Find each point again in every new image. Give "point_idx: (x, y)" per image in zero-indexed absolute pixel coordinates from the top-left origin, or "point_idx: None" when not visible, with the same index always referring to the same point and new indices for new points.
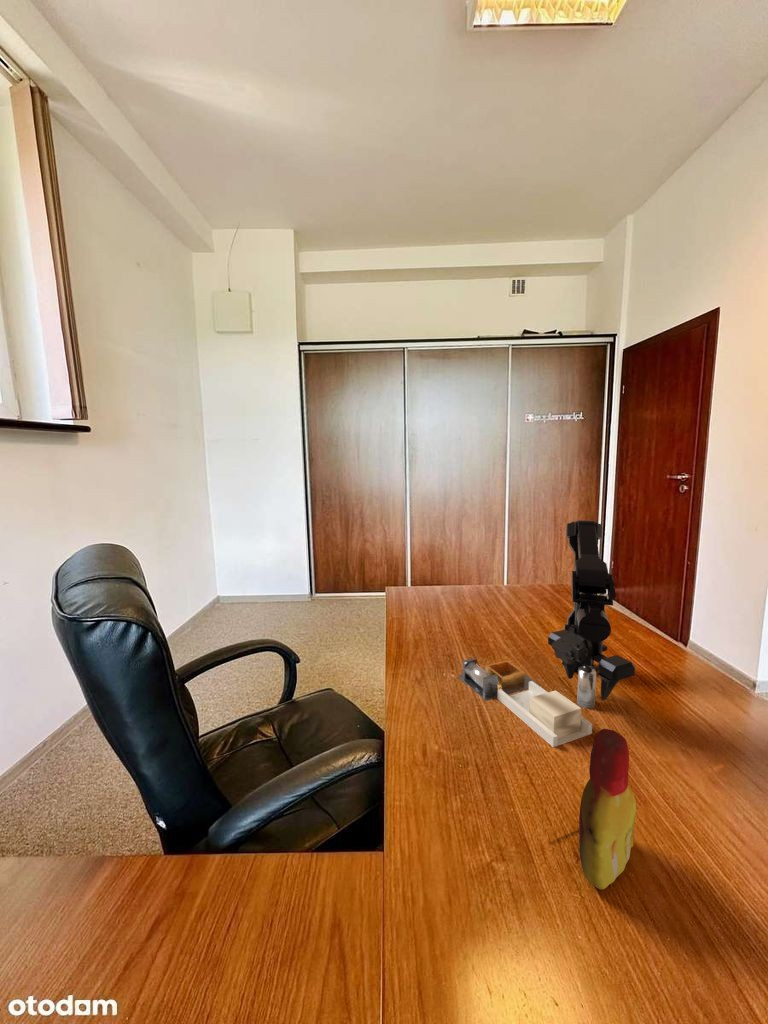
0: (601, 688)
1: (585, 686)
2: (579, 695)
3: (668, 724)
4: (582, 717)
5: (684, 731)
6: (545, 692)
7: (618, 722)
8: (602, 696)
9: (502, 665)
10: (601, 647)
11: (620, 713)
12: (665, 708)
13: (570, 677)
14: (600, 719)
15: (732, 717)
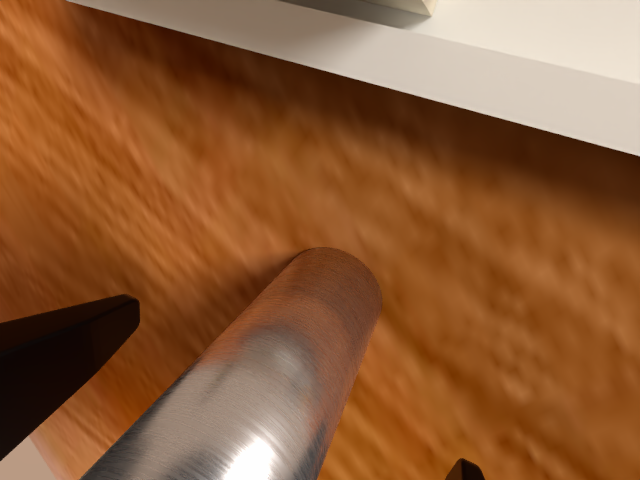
0: (10, 342)
1: (214, 357)
2: (319, 298)
3: None
4: (141, 15)
5: None
6: (635, 117)
7: (165, 255)
8: (97, 305)
9: None
10: None
11: (201, 329)
12: None
13: (455, 476)
14: (215, 218)
15: (75, 468)
